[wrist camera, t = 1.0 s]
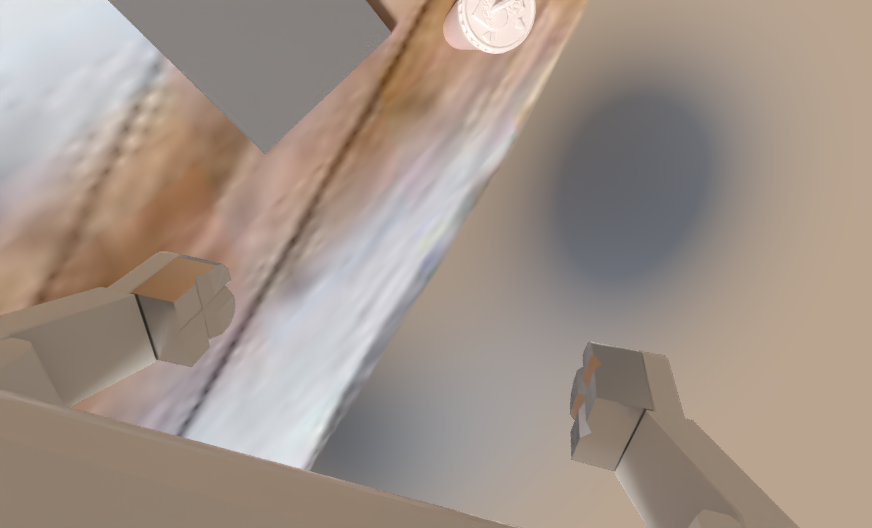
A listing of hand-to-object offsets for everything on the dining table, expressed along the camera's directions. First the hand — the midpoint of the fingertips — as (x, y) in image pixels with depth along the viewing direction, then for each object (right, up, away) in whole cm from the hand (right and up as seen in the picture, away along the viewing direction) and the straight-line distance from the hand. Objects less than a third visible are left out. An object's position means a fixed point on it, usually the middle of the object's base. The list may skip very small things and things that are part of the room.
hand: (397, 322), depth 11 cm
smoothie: (+3, +24, +36) cm, 43 cm away
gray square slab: (-14, +23, +31) cm, 41 cm away
